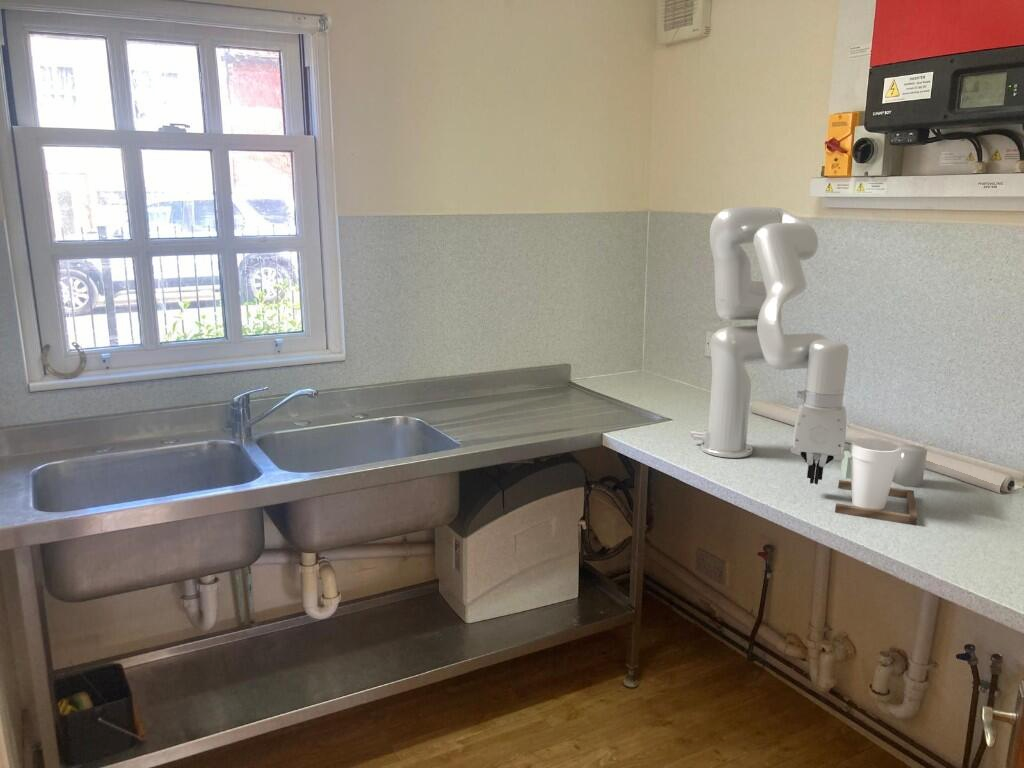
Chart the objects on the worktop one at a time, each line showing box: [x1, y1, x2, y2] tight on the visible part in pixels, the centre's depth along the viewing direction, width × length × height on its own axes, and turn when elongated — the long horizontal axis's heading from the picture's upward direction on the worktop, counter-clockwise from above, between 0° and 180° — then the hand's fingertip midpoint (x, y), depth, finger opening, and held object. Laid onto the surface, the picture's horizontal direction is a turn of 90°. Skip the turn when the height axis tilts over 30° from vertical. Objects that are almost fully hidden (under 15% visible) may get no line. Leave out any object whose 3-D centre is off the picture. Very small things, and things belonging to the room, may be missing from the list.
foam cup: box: [849, 437, 901, 510], centre depth 162 cm, size 10×9×13 cm
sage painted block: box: [840, 450, 851, 479], centre depth 180 cm, size 5×5×5 cm
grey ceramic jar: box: [892, 444, 928, 488], centre depth 175 cm, size 6×6×8 cm
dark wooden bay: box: [834, 479, 918, 526], centre depth 163 cm, size 15×16×2 cm
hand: (814, 481), depth 167 cm, fingers closed
